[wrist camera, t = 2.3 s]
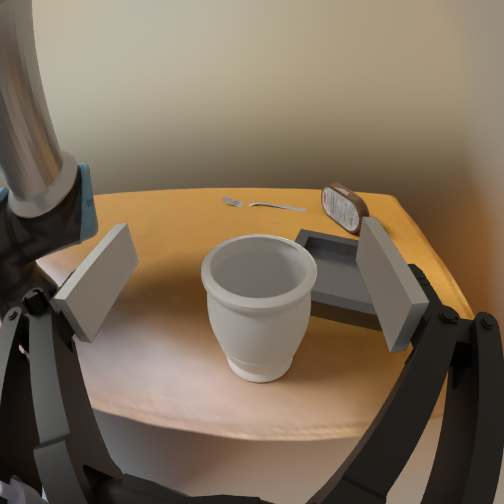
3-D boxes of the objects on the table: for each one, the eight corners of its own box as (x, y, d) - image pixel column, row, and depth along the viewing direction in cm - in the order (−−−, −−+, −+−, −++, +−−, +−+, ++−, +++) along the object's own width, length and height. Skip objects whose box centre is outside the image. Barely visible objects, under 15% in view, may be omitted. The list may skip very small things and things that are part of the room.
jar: (317, 355, 32) (339, 264, 24) (257, 407, 27) (255, 329, 18) (261, 313, 39) (260, 222, 30) (203, 351, 34) (178, 261, 25)
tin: (366, 238, 54) (373, 203, 49) (355, 241, 53) (362, 205, 49) (327, 208, 66) (330, 177, 61) (317, 210, 65) (320, 178, 60)
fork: (318, 215, 64) (318, 208, 62) (221, 207, 68) (220, 200, 67) (318, 209, 66) (318, 203, 65) (225, 201, 71) (224, 195, 70)
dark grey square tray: (269, 304, 40) (269, 289, 39) (299, 241, 54) (300, 228, 52) (385, 331, 34) (392, 318, 33) (387, 260, 48) (391, 247, 46)
